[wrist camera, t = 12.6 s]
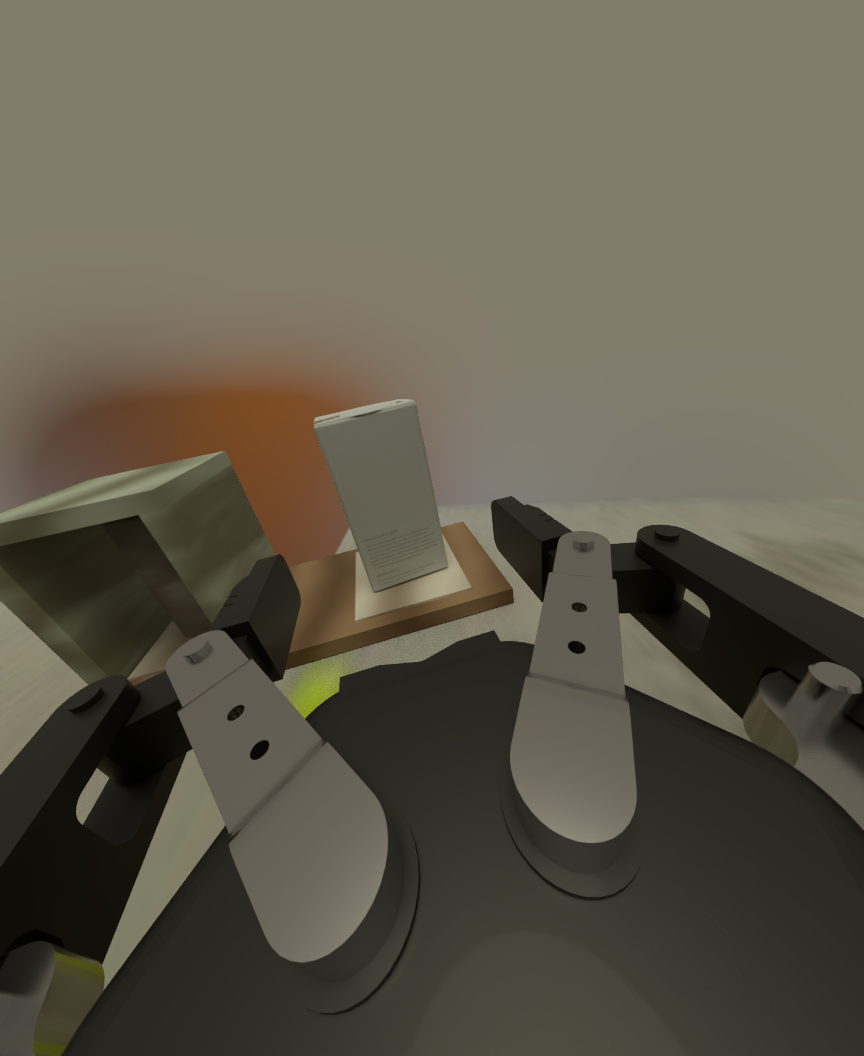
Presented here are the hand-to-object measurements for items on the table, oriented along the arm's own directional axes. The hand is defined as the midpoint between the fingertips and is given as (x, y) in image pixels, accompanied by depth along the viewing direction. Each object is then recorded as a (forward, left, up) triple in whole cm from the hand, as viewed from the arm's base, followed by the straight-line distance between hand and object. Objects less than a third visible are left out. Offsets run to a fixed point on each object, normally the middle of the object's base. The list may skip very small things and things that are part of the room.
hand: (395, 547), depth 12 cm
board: (-6, +10, -9) cm, 15 cm away
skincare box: (0, +10, -8) cm, 13 cm away
